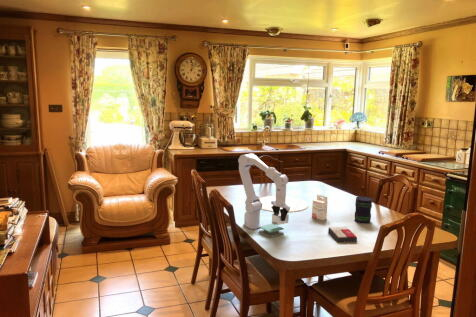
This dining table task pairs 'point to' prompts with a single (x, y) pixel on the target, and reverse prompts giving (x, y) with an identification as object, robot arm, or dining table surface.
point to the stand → (271, 230)
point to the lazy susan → (289, 201)
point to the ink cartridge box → (319, 208)
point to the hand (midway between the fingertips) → (279, 219)
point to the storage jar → (363, 210)
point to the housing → (279, 219)
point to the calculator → (342, 234)
